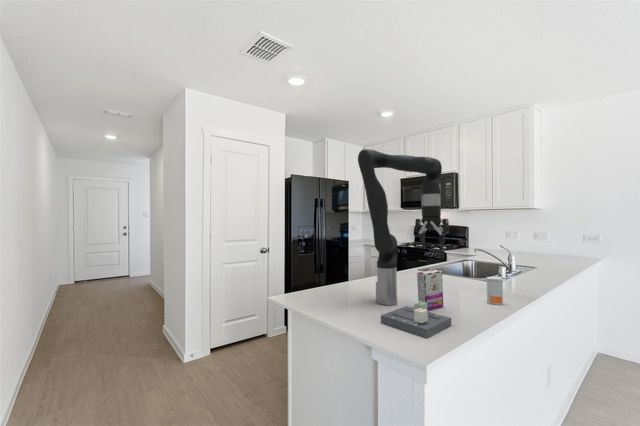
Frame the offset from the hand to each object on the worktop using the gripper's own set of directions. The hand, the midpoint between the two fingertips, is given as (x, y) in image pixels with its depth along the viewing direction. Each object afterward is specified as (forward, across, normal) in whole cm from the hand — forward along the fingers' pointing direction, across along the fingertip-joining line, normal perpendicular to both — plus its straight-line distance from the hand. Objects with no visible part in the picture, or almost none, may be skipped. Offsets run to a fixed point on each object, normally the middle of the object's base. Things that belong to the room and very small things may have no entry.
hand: (431, 243), depth 127 cm
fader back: (+27, -1, +11) cm, 29 cm away
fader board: (+30, -1, +15) cm, 34 cm away
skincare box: (+30, -11, -35) cm, 48 cm away
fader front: (+27, -6, +19) cm, 33 cm away
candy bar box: (+30, +6, -8) cm, 32 cm away
